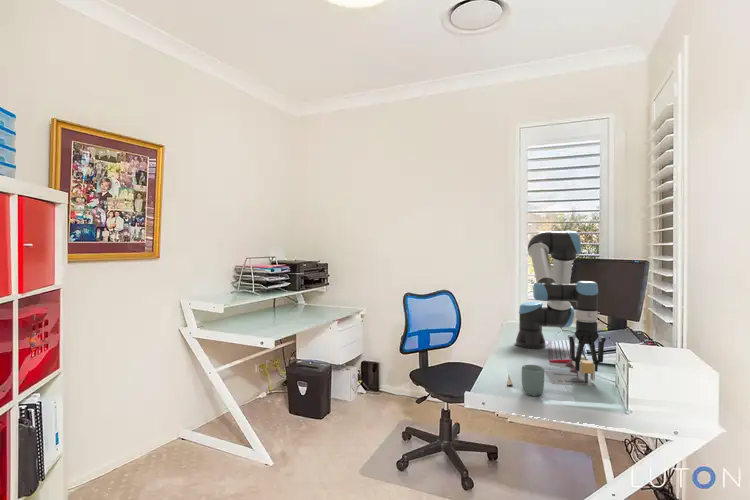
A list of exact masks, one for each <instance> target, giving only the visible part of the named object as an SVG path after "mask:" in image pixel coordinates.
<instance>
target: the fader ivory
mask: <svg viewBox="0 0 750 500" xmlns="http://www.w3.org/2000/svg"><path fill="white" fill-rule="evenodd" d="M575 357H576V353H575ZM581 360H586V357H585V356H584V355H583V354H582V355H581ZM572 364H573V365H574V366H575V361H572ZM577 375H578V371H577Z"/></svg>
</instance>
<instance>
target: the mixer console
mask: <svg viewBox="0 0 750 500" xmlns="http://www.w3.org/2000/svg"><path fill="white" fill-rule="evenodd" d="M544 375H546V377H547V378H548V380H549V381H550V382H551V384H552V385H564V386H580V387H581V386H582V387H597V385H596V384H595V383H594V382H593V380H592V379H591V378H589V377H588V382H585V381H584V373H582V380H580V379H579V378H578V375H577V372H570V371H559V370H558V371H555V370H544Z"/></svg>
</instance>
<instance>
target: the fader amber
mask: <svg viewBox="0 0 750 500" xmlns="http://www.w3.org/2000/svg"><path fill="white" fill-rule="evenodd" d="M580 362H581V363H582V373H584V381H585V382H588V378H589V374H590V375H591V374H593V368H594V363H592V362H593V361H592V360H587V359H585V360H580Z"/></svg>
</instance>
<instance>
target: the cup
mask: <svg viewBox="0 0 750 500" xmlns="http://www.w3.org/2000/svg"><path fill="white" fill-rule="evenodd" d="M544 371H545V368H544V367H542V366H539V365H536V364H524V365H522V366H521V386H522V390H523V392H524V393H525V394H526V395H529V396H531V395H532V396H531V397H537V395H538V396H540V395H541V394H543V391H544V388H545V372H544Z"/></svg>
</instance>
